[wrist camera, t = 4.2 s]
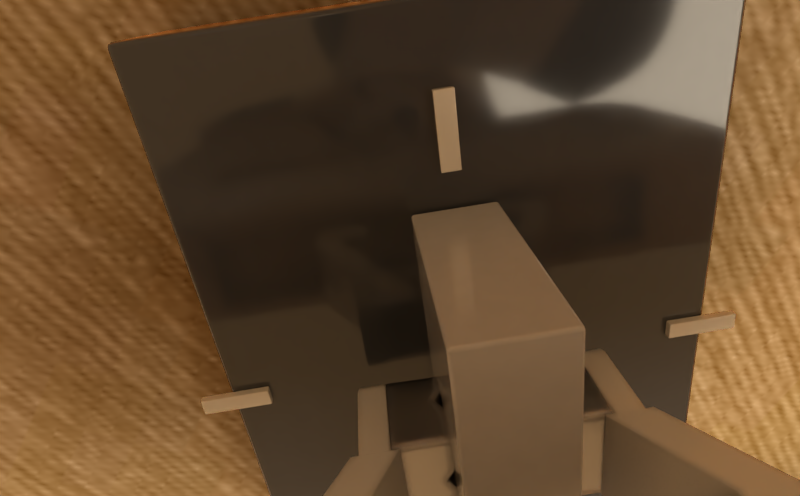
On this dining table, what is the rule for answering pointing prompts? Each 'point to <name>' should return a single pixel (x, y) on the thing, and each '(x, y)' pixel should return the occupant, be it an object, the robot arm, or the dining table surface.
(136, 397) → the dining table surface
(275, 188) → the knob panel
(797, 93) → the dining table surface
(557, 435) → the beige slab red square
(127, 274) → the dining table surface
